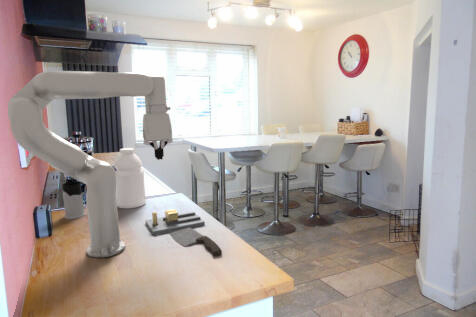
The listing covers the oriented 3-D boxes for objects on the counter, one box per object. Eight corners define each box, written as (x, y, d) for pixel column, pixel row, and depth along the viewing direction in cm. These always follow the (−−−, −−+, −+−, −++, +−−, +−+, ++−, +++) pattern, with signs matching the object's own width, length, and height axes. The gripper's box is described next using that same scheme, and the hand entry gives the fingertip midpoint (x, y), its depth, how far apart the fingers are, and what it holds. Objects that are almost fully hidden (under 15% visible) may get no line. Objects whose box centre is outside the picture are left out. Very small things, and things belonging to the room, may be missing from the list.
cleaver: (228, 253, 117) (228, 247, 117) (202, 262, 112) (202, 255, 111) (188, 228, 141) (187, 223, 141) (165, 234, 136) (165, 229, 135)
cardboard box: (178, 221, 142) (177, 212, 142) (168, 223, 141) (168, 213, 140) (174, 218, 147) (174, 208, 146) (165, 219, 145) (164, 210, 144)
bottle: (130, 199, 183) (126, 146, 178) (151, 202, 177) (147, 147, 172) (110, 207, 170) (105, 150, 165) (132, 210, 164) (127, 151, 159)
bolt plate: (204, 225, 143) (204, 209, 142) (153, 235, 134) (152, 219, 133) (193, 215, 155) (192, 201, 154) (145, 223, 146) (144, 208, 145)
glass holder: (62, 215, 160) (58, 183, 157) (94, 208, 169) (90, 178, 166) (67, 220, 153) (63, 187, 150) (100, 212, 162) (97, 181, 159)
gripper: (173, 108, 135) (175, 155, 138) (133, 110, 128) (137, 159, 132) (178, 109, 128) (181, 158, 131) (137, 111, 122) (141, 162, 125)
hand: (159, 159), depth 132 cm, fingers closed
